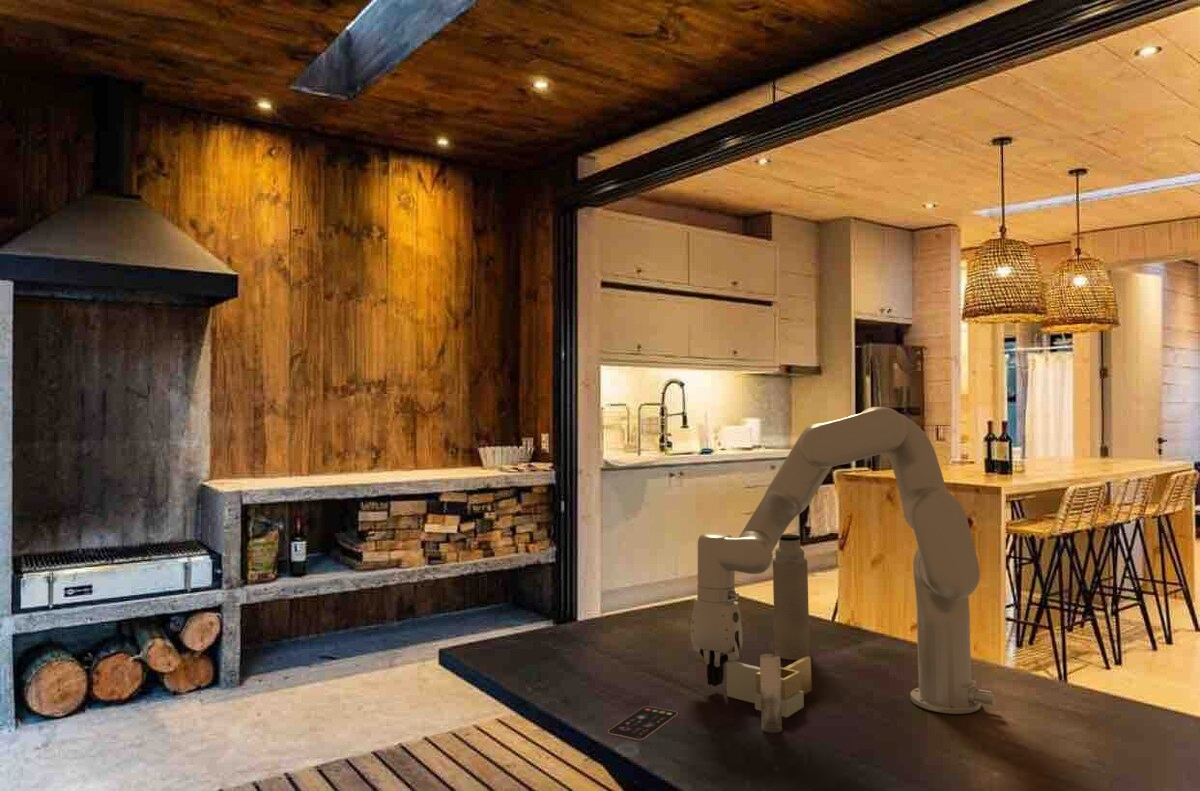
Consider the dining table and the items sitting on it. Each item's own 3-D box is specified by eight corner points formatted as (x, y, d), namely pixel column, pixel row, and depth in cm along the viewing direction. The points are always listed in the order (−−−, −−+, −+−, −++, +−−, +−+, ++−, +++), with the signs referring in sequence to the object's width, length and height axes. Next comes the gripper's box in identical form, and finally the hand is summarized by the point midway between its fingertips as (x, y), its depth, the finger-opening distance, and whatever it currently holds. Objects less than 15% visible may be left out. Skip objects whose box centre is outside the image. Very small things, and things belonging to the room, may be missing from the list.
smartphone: (679, 712, 154) (641, 740, 142) (679, 715, 154) (641, 743, 142) (645, 705, 158) (605, 732, 146) (645, 708, 158) (605, 735, 146)
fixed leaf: (823, 693, 164) (822, 659, 164) (785, 716, 152) (784, 680, 152) (795, 686, 168) (794, 653, 168) (756, 708, 156) (755, 673, 156)
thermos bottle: (772, 649, 194) (770, 532, 194) (806, 649, 193) (803, 532, 193) (776, 659, 186) (773, 537, 186) (812, 660, 185) (809, 537, 186)
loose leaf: (803, 706, 156) (803, 671, 156) (786, 717, 151) (786, 680, 151) (737, 690, 166) (737, 657, 166) (719, 699, 161) (719, 665, 161)
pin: (785, 728, 146) (783, 656, 146) (775, 734, 143) (773, 661, 144) (767, 723, 148) (766, 652, 149) (757, 729, 146) (756, 657, 146)
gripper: (757, 596, 163) (756, 687, 163) (696, 585, 173) (695, 671, 173) (737, 603, 158) (736, 697, 158) (675, 591, 168) (674, 680, 168)
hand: (715, 683), depth 165 cm, fingers closed
